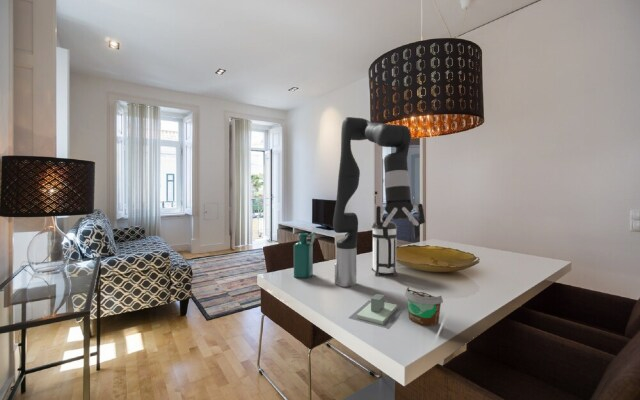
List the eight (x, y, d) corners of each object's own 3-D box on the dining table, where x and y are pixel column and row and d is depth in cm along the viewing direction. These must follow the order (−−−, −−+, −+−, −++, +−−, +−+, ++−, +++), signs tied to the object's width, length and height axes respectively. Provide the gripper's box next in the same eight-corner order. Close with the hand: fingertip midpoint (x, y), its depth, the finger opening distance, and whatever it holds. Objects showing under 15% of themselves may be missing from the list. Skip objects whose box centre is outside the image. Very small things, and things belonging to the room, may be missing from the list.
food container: (397, 320, 93) (398, 290, 93) (407, 314, 98) (407, 286, 97) (434, 333, 85) (434, 301, 84) (442, 326, 89) (443, 295, 89)
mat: (348, 319, 94) (348, 317, 94) (369, 301, 109) (369, 300, 109) (388, 330, 87) (388, 328, 87) (405, 309, 102) (405, 308, 102)
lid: (356, 318, 94) (356, 301, 94) (373, 302, 107) (373, 288, 106) (382, 324, 89) (382, 307, 89) (397, 308, 102) (397, 292, 102)
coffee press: (362, 273, 147) (362, 216, 146) (381, 267, 158) (381, 214, 157) (390, 281, 134) (390, 218, 133) (408, 274, 144) (409, 216, 143)
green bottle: (292, 277, 140) (292, 233, 140) (298, 272, 148) (298, 231, 148) (310, 279, 138) (310, 234, 137) (316, 274, 146) (316, 232, 145)
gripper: (418, 187, 90) (423, 238, 88) (373, 190, 92) (376, 239, 90) (423, 183, 82) (428, 238, 81) (374, 186, 85) (377, 240, 83)
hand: (401, 239), depth 85 cm, fingers open, 8 cm apart
